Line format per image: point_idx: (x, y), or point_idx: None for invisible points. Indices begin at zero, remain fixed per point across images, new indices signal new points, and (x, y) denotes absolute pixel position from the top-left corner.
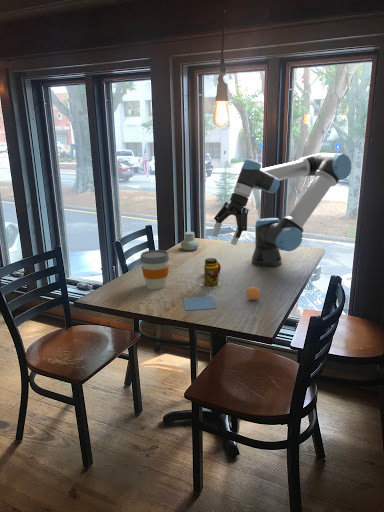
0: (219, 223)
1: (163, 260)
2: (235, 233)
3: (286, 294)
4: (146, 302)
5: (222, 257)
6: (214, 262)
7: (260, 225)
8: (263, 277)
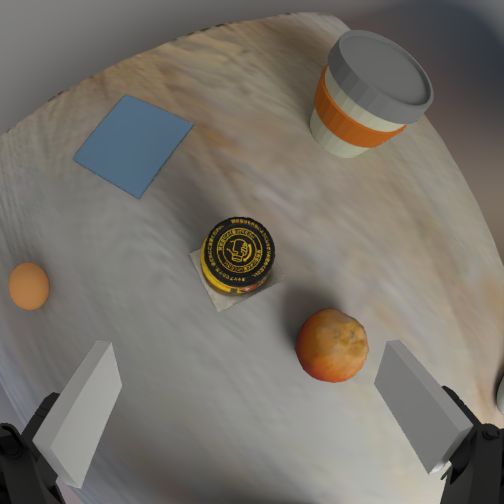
0: (443, 449)
1: (334, 66)
2: (54, 408)
3: (22, 391)
4: (241, 58)
5: None
6: (204, 250)
7: None
8: (169, 463)
